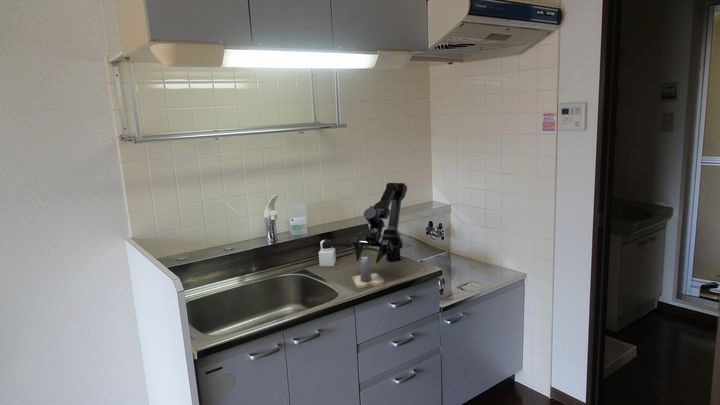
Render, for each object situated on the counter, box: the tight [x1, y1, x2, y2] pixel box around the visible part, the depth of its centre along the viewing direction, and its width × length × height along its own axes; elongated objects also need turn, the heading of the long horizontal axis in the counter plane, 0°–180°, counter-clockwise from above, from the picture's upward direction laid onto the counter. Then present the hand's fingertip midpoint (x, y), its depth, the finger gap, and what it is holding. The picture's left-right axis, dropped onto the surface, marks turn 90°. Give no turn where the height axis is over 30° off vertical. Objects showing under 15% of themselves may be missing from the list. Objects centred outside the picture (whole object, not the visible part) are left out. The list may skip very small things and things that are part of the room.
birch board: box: [350, 272, 386, 289], centre depth 203 cm, size 12×12×1 cm
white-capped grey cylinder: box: [359, 256, 372, 282], centre depth 201 cm, size 5×5×10 cm
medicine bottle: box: [318, 239, 337, 267], centre depth 229 cm, size 7×7×12 cm
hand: (366, 261), depth 202 cm, fingers open, 9 cm apart
